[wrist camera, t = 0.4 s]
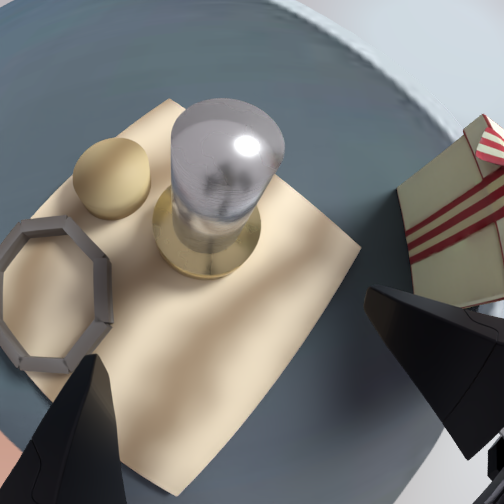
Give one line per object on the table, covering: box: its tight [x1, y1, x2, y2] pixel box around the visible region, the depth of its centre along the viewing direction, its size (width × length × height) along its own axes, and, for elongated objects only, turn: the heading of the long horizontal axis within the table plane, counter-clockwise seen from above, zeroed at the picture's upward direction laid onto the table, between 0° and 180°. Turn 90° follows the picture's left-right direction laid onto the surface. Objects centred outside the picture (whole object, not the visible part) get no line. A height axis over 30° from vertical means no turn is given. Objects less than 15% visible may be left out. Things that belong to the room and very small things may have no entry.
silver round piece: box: [152, 98, 285, 280], centre depth 16 cm, size 8×8×11 cm
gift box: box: [397, 114, 504, 309], centre depth 20 cm, size 17×18×17 cm
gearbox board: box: [0, 99, 361, 496], centre depth 19 cm, size 23×26×4 cm
